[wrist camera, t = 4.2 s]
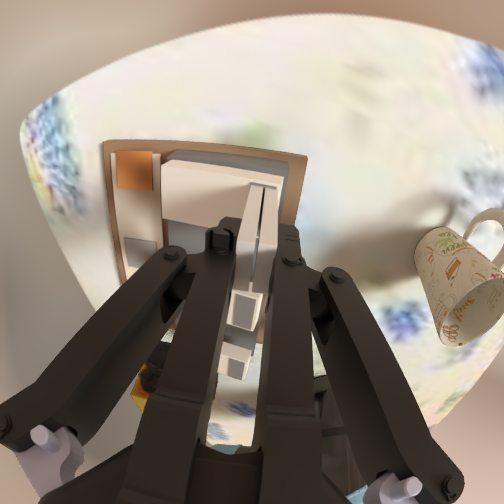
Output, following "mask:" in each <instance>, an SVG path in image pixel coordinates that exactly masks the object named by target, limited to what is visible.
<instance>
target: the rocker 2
mask: <svg viewBox="0 0 504 504" xmlns="http://www.w3.org/2000/svg"><path fill="white" fill-rule="evenodd" d="M251 352H252V351H251V350H248V349H245V348H242V347H239V346H236V345H233V344H229V343H226V342H223V344H222V349H221V355H220V360H219V366H218V371H217V372H218V373H221V374H224V375H227V376H229V377H232V378H235V379H239V380H242V381H244V378H245V376H246V373H247V371H248V366H249V362H250V357H251Z"/></svg>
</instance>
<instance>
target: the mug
mask: <svg viewBox="0 0 504 504" xmlns="http://www.w3.org/2000/svg"><path fill="white" fill-rule="evenodd" d="M486 220H496V221H498V222H499V223H500V224H501V225H502V227H503V229H504V210H501V209H499V208H490V209H487V210H485V211H483V212H481V213H479V214H478V215H476V216H475V217H474V218H473V220H472V221H471V223H470V224H469V226H468V228H467V230H466V231H465V233H464V236H463V238H462V237H461V236H460V235H459V234H457V233H456V232H455V231H453V230H452V229H450V228H447V227H439V228H435V229H433V230H431V231H430V232H428V233H427V234H426V235H425V236H424V237H423V238H422V239H421V240H420V242H419V243H418V245H417V247H416V250H415V254H414V262H415V266H416V268H417V271H418V274H419V277H420V279H421V282H422V285H423V288H424V291H425V294H426V297H427V300H428V303H429V306H430V309H431V312H432V316H433V319H434V323H435V326H436V330H437V333H438V336H439V338H440V340H441V342H442V343H443V344H445V345H447V346H461V345H464V344H467V343H470V342H472V341H474V340H476V339H477V338H479V337H480V336H482V335H483V334H485V333H486V332H487V331H488V330H489V329H491V328H492V327H493V326H494V325H495V324H496V322H497V321H498V320H499V319H500V318H501V316H502V315H503V313H504V273H503V272H502V271H501V269H502V268H503V266H504V245H503V247H502V249H501V250H500V252H499V253H498V255H497V256H496V257H495V259H494V260H493V262H491V261H490V260H489V259H487V258H486V257H485V256H484V255H483V254H482V253H481V252H479V251H478V250H477V249H476V248H475V247H473V246H472V245H471V244H470V243H469V242H467V240H468V239H469V237H470V236H471V235H472V233H473V232H474V230H475V229H476V227H477V226H478V225H479V224H480V223H481V222H483V221H486Z"/></svg>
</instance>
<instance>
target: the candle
mask: <svg viewBox="0 0 504 504" xmlns="http://www.w3.org/2000/svg"><path fill="white" fill-rule="evenodd" d="M170 345H171V343H166V342H162V341H160V342H159V343H158V345H157V346H156V348H155V349H154V350H153V352H152V353H151V355H150V356H149V358H148V359H147V360H146V362H145V363H144V365H143V366H142V368H141V370H140V372H139V374H138V379H137V380H136V382H135V385H134V388H133V389H132V392H131V397H132V398H133V400H134V402H135V403H136V405H137V406H138V408H139V409H140V411H141V413H142V414H143V410H144V407H145V404H146V401H147V399H148V397H149V395H150V394H151V393H154V392H155V391H156V389H157V386H158V383H159V380H160V377H161V373H162V370H163V367H164V364H165V361H166V358H167V355H168V351H169V348H170ZM217 383H218V372H217V377H216V382H215V388H214V394H213V399H212V404H213V400H214V398H215V393H216V387H217ZM211 406H212V405H211ZM210 412H211V411H210ZM209 419H210V416H209Z"/></svg>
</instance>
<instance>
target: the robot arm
mask: <svg viewBox="0 0 504 504" xmlns="http://www.w3.org/2000/svg"><path fill="white" fill-rule="evenodd" d="M262 194H263V187H260V186H255V185H251V187H250V191H249V195H248V199H247V203H246V207H245V210H244V214H243V218H242V219H241V218H234V217H227V216H225V217H224V218H223V219H221V220H220V222H219V224H218V226H216V227H211V228H209V229H208V230H207V231H206V232H205V250H204V252H201V253H197V254H186V250H185V249H184V248H182V247H180V246H176V245H168V246H164V247H162V248H160V249H159V250H158V251H157V252H155V253H154V254H153V255H152V256H151V257H150V258H149V259H148V260H147V261H146V262H145V263H144V264H143V265H142V266H141V267H140V268H139V269H138V270H137V271H136V272H135V273H134V274H133V275H132V276H131V277H130V278H129V279H128V280H127V281H126V282H125V283H124V284H123V285H122V286H121V287H120V288H119V289H118V290H117V291H116V292H115V293H114V294H113V295H112V296H111V297H110V298H109V299H108V300H107V301H106V302H105V303H104V304H103V305H102V306H101V307H100V308H99V309H98V311H97V312H96V313H95V314H94V315H93V316H92V317H91V318H90V319H89V320H88V321H87V323H85V325H84V326H83V327H82V328H81V329H80V330H79V331H78V332H77V333H76V334H75V336H74V337H73V338H72V339H71V340H70V341H69V342H68V343H67V345H66V346H65V347H64V348H63V349H62V350H61V352H60V353H59V354H58V355H57V356H56V357H55V359H54V360H53V361H52V362H51V363H50V365H49V366H48V367H47V368H46V369H45V370H44V372H43V373H42V374H41V375H40V377H39V378H38V379H37V380H36V382H35V383H33V384H32V385H30V386H29V387H27V388H25V389H24V390H22V391H21V392H19V393H17V394H16V395H14V396H13V397H11V398H10V399H8V400H7V401H5V402H4V403H2V404H0V443H1V444H2V445H4V446H6V447H7V448H9V449H10V450H12V451H13V452H14V453H15V455H16V457H17V459H18V460H19V463H20V465H21V467H22V468H23V470H24V472H25V474H26V475H27V477H28V479H29V480H30V482H31V484H32V486H33V487H34V489H35V490H36V492H37V494H38V495H39V497H40V498H41V499H40V501H39V502H38V504H452V503H454V502H455V501H456V500H457V499H458V498H459V497H460V495H461V494H462V492H463V489H464V484H465V483H464V476H463V474H462V472H461V471H460V470H459V469H458V467H457V466H456V465H455V464H454V463H453V461H452V460H451V459H450V458H449V457H448V456H447V454H446V453H445V452H444V451H443V450H442V449H441V447H440V446H439V445H438V444H437V443H436V442H435V440H434V439H433V438H432V437H431V434H430V432H429V429H428V427H427V424H426V422H425V420H424V417H423V415H422V413H421V411H420V408H419V406H418V404H417V402H416V399H415V397H414V395H413V393H412V391H411V389H410V387H409V384H408V382H407V380H406V378H405V376H404V374H403V372H402V370H401V368H400V366H399V364H398V362H397V360H396V358H395V356H394V354H393V352H392V350H391V348H390V346H389V344H388V342H387V341H386V339H385V337H384V335H383V333H382V331H381V329H380V328H379V326H378V324H377V322H376V320H375V318H374V317H373V315H372V313H371V311H370V309H369V308H368V306H367V304H366V302H365V301H364V299H363V297H362V295H361V294H360V292H359V290H358V289H357V287H356V285H355V283H354V282H353V280H352V278H351V277H350V275H349V274H348V273H347V272H345V271H344V270H342V269H340V268H337V267H328V268H325V269H324V270H323V272H322V273H321V272H318V271H315V270H313V269H311V268H309V267H308V266H306V262H305V259H304V258H303V257H302V256H301V247H300V238H299V231H298V229H297V228H296V227H295V226H294V225H288V224H281V223H278V189H271V188H265V195H264V202H263V209H262V216H261V223H260V230H259V238H258V246H257V254H256V261H255V269H254V277H253V285H252V292H254V293H261V294H268V298H267V303H266V307H265V312H264V313H266V315H265V326H264V337H263V348H262V359H261V369H260V379H259V389H258V399H257V408H256V418H255V427H254V435H253V441H252V445H251V447H250V446H242V445H240V444H239V445H225V444H215V445H212V446H211V447H207V446H206V437H207V428H208V422H209V416H210V411H211V405H212V399H213V394H214V388H215V382H216V377H217V371H218V366H219V360H220V355H221V349H222V344H223V339H224V333H225V328H226V323H227V317H228V312H229V307H230V301H231V295H232V289H234V290H240V291H247V292H248V291H249V284H250V277H251V271H252V264H253V257H254V250H255V243H256V236H257V229H258V222H259V215H260V208H261V201H262ZM232 287H233V288H232ZM181 311H182V313H181V316H180V319H179V322H178V325H177V327H176V330H175V333H174V336H173V339H172V342H171V345H170V348H169V351H168V355H167V358H166V361H165V364H164V367H163V370H162V373H161V377H160V380H159V383H158V386H157V389H156V391H155V392H154V393H151V394H150V395H149V397H148V399H147V401H146V404H145V407H144V410H143V414H142V417H141V420H140V424H139V427H138V430H137V434H136V438H135V441H134V444H132V445H130V446H128V447H126V448H124V449H123V450H121V451H120V452H118V453H117V454H115V455H113V456H112V457H110V458H109V459H107V460H105V461H104V462H102V463H100V464H99V465H97V466H95V467H94V468H92V469H90V470H89V471H87V472H85V473H83V474H82V475H80V476H78V477H77V478H74V477H75V472H76V470H77V469H78V467H79V466H80V465H81V464H83V462H84V452H83V448H82V446H84V445H85V444H86V443H87V442H88V441H89V440H90V439H91V438H92V437H93V436H94V435H95V434H96V433H97V431H98V430H99V429H100V427H101V426H102V425H103V423H104V422H105V420H106V419H107V417H108V416H109V414H110V413H111V411H112V410H113V408H114V407H115V405H116V404H117V402H118V401H119V399H120V398H121V396H122V395H123V394H124V392H125V391H126V389H127V388H128V386H129V385H130V383H131V382H132V381H133V379H134V378H135V376H136V375H137V373H138V372H139V370H140V369H141V368H142V366H143V365H144V363H145V362H146V360H147V359H148V358H149V356H150V355H151V353H152V352H153V350H154V349H155V348H156V346H157V345H158V343H159V342H160V340H161V339H162V338H163V336H164V335H165V333H166V332H167V331H168V329H169V328H170V326H171V325H172V324H173V322H174V321H175V319H176V318H177V317H178V315H179V314H180V312H181ZM311 331H312V333H311ZM312 334H313V336H314V339H315V342H316V345H317V348H318V350H319V353H320V356H321V359H322V362H323V365H324V368H325V370H326V373H327V376H323V377H319V378H315V379H314V372H313V351H312Z"/></svg>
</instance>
